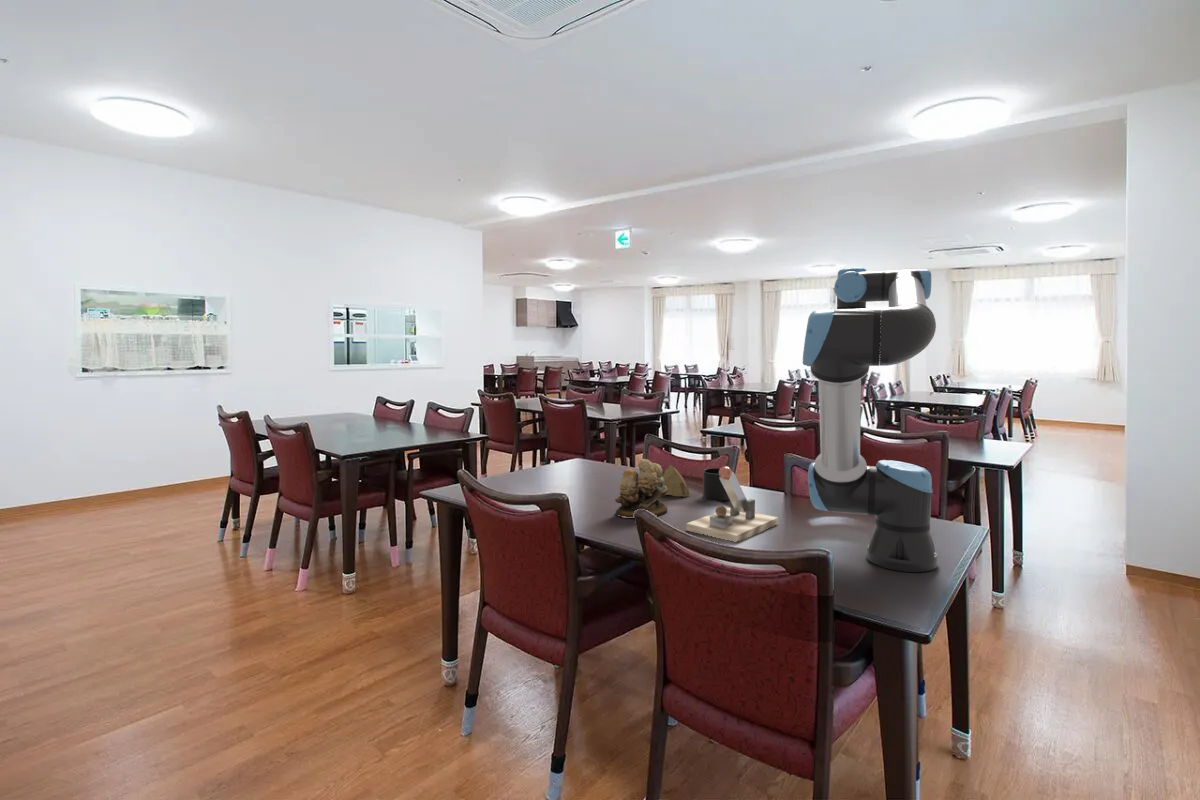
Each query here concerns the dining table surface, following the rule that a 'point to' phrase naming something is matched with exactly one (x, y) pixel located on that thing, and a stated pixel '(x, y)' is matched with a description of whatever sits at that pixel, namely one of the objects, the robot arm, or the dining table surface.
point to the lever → (733, 489)
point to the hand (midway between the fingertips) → (848, 411)
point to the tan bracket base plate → (733, 523)
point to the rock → (675, 483)
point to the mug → (713, 485)
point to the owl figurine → (642, 490)
